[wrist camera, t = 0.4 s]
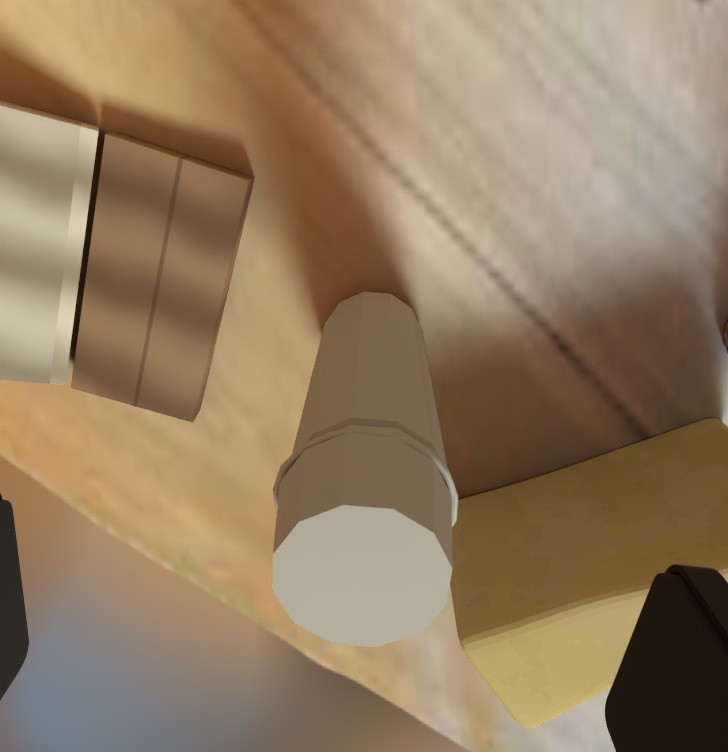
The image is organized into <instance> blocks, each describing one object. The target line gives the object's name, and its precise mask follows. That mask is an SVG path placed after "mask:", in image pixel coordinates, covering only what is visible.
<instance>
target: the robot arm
mask: <svg viewBox="0 0 728 752" xmlns="http://www.w3.org/2000/svg"><path fill="white" fill-rule="evenodd" d="M28 645H29V638H28V629H27V621H26V613H25V605H24V597H23V589H22V581H21V573H20V565H19V557H18V549H17V540H16V532H15V524H14V517H13V509H12V505H11V503H10V502H9V501H7V500H2V496H1V494H0V700H1V698H2V697H3V695H4V694H5V692H6V691H7V689H8V687H9V686H10V684H11V683H12V681H13V680H14V678H15V677H16V675H17V673H18V672H19V670H20V668H21V667H22V664H23V663H24V660H25V658H26V655H27V651H28ZM605 718H606V724H607V728H608V731H609V733H610V736H611V739H612V741H613V744H614V747H615V749H616V752H728V583H727V581H726V580H725V579H724V577H723V576H722V575H721V574H720V573H719V572H718V571H717V570H715V569H712V568H705V567H696V566H687V565H678V564H675V565H671V566H670V567H668V568H667V570H666V571H665V573H659V574H657V575H656V576H655V578H654V580H653V582H652V584H651V587H650V590H649V592H648V595H647V597H646V600H645V602H644V605H643V608H642V610H641V613H640V615H639V618H638V620H637V623H636V625H635V628H634V631H633V633H632V636H631V638H630V641H629V643H628V646H627V649H626V651H625V654H624V656H623V659H622V661H621V664H620V667H619V669H618V672H617V674H616V677H615V679H614V682H613V685H612V687H611V690H610V692H609V695H608V697H607V700H606V705H605Z"/></svg>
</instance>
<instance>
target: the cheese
mask: <svg viewBox="0 0 728 752" xmlns="http://www.w3.org/2000/svg"><path fill="white" fill-rule="evenodd" d="M452 563H453V569H452V575H451V581H450V586H451V592H452V599H453V606H454V612H455V619H456V625H457V632H458V637H459V641H460V644H461V647H462V649H463V650H464V652H465V654H466V656H467V657H468V659H469V660H470V662H471V663H472V665H473V666H474V667H475V669H476V670H477V671H478V673H479V674H480V675H481V677H482V678H483V679H484V681H485V682H486V683H487V685H488V686H489V687H490V689H491V690H492V691H493V692H494V694H495V695H496V696H497V698H498V699H499V700H500V702H501V703H502V704H503V706H504V707H505V708H506V710H507V711H508V712H509V713H510V715H511V716H512V717H513V718H514V719H515V720H516V721H517V722H518V723H519V724H520V725H521V726H523V727H525V728H534V727H536V726H539V725H541V724H543V723H545V722H547V721H548V720H550V719H552V718H554V717H556V716H558V715H560V714H561V713H563V712H565V711H567V710H569V709H571V708H573V707H575V706H577V705H579V704H581V703H583V702H585V701H587V700H589V699H591V698H593V697H595V696H597V695H599V694H601V693H603V692H605V691H607V690H609V689H611V687H612V685H613V682H614V679H615V677H616V674H617V672H618V669H619V667H620V664H621V661H622V659H623V656H624V654H625V651H626V649H627V646H628V643H629V641H630V638H631V636H632V633H633V631H634V628H635V625H636V623H637V620H638V618H639V615H640V613H641V610H642V608H643V605H644V602H645V600H646V597H647V595H648V592H649V590H650V587H651V584H652V582H653V580H654V578H655V576H656V575H657V574H659V573H665V571H666V570H667V568H668V567H670V566H671V565H675V564H678V565H687V566H696V567H705V568H712V569H715V570H717V571H718V572H719V573H720V574H721V575H722V576H723V577H724V579H725V580H726V581H727V583H728V427H727V426H726V425H725V424H724V423H723V422H722V421H721V420H719V419H716V418H709V419H704V420H701V421H698V422H695V423H692V424H689V425H686V426H683V427H681V428H678V429H675V430H672V431H669V432H666V433H663V434H661V435H658V436H655V437H652V438H649V439H646V440H643V441H641V442H638V443H635V444H632V445H629V446H626V447H623V448H620V449H617V450H615V451H612V452H609V453H606V454H603V455H601V456H598V457H595V458H592V459H589V460H586V461H583V462H581V463H578V464H575V465H572V466H569V467H566V468H563V469H560V470H557V471H554V472H551V473H548V474H545V475H542V476H538V477H535V478H532V479H529V480H526V481H522V482H519V483H516V484H512V485H509V486H506V487H502V488H499V489H495V490H492V491H488V492H484V493H481V494H477V495H473V496H470V497H466V498H462V499H459V500H458V509H457V520H456V522H455V524H454V526H453V527H452Z"/></svg>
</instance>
